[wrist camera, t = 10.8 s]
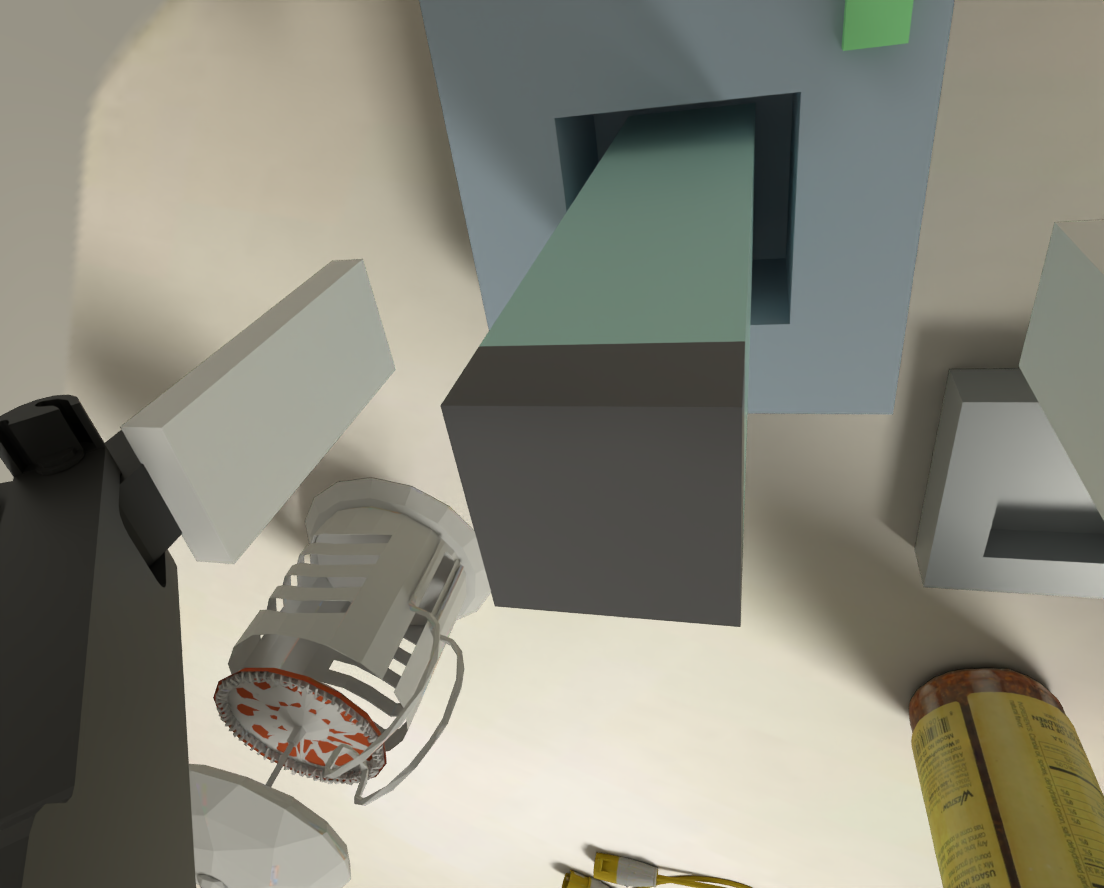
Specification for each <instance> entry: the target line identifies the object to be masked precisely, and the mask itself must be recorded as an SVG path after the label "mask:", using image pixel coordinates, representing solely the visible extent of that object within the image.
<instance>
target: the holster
mask: <svg viewBox="0 0 1104 888" xmlns="http://www.w3.org/2000/svg"><path fill="white" fill-rule="evenodd" d="M915 553H916V557H917V561H918V566H919V570H920V574H921V578H922V583H923V587H930V588H945V589H960V590H976V591H991V592H1006V593H1021V594H1037V595H1052V596H1067V597H1083V598H1098V599H1104V521H1103V519H1102V517H1101V515H1100V513H1099V511H1098V510H1097V508H1096V506H1095V504H1094V502H1093V501H1092V499H1091V497H1090V495H1089V493H1088V491H1087V490H1086V488H1085V486H1084V484H1083V482H1082V480H1081V479H1080V477H1079V475H1078V473H1077V471H1076V470H1075V468H1074V466H1073V464H1072V462H1071V460H1070V459H1069V457H1068V455H1067V453H1066V451H1065V449H1064V448H1063V446H1062V444H1061V442H1060V440H1059V439H1058V437H1057V435H1056V433H1055V431H1054V429H1053V428H1052V426H1051V424H1050V422H1049V420H1048V419H1047V417H1046V415H1045V413H1044V411H1043V409H1042V408H1041V406H1040V404H1039V402H1038V400H1037V398H1036V397H1035V395H1034V393H1033V391H1032V389H1031V388H1030V386H1029V384H1028V382H1027V380H1026V378H1025V377H1024V375H1023V373H1022V371H1021V369H949V374H948V379H947V384H946V390H945V395H944V400H943V405H942V410H941V416H940V421H939V426H938V431H937V436H936V441H935V447H934V452H933V457H932V462H931V467H930V472H929V478H928V483H927V488H926V493H925V498H924V503H923V509H922V514H921V519H920V524H919V529H918V534H917V540H916V545H915Z"/></svg>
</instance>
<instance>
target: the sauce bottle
mask: <svg viewBox="0 0 1104 888" xmlns="http://www.w3.org/2000/svg"><path fill="white" fill-rule="evenodd" d="M909 718H910V725H911V729H912V733H913V734H912V740H911V743H912V750H913V754H914V759H915V763H916V768H917V772H918V777H919V781H920V786H921V790H922V794H923V799H924V803H925V808H926V812H927V816H928V821H929V825H930V830H931V835H932V839H933V844H934V849H935V854H936V858H937V862H938V867H939V871H940V875H941V880H942V884H943V888H1104V795H1103V793H1102V791H1101V789H1100V786H1099V784H1098V782H1097V779H1096V777H1095V775H1094V772H1093V770H1092V768H1091V765H1090V763H1089V760H1088V758H1087V756H1086V753H1085V751H1084V749H1083V747H1082V744H1081V742H1080V740H1079V737H1078V735H1077V733H1076V730H1075V728H1074V726H1073V724H1072V723H1071V721H1070V720H1069V718H1068V717H1067V716H1066V714H1065V712H1064V710H1063V707H1062V705H1061V704H1060V702H1059V700H1058V699H1057V698H1056V697H1055V696H1054V695H1053V694H1052V693H1051V692H1050V691H1049V690H1047V689H1046V688H1045V687H1044V686H1043V685H1042V684H1041V683H1039V682H1037V681H1035V680H1033V679H1032V678H1031V677H1029V676H1028V675H1023V674H1021V673H1018V672H1016V671H1013V670H1010V669H1008V668H1005V669H997V668H985V669H962V670H956V671H950V672H947V673H945V674H943V675H940V676H937V677H934V678H933V679H931V680H930V681H928V682H927V683H926V684H925V685H923V686H921V687H920V688H919V689H917V691H916V692H915V694H914V696H913V697H912V698H911V700H910V703H909Z"/></svg>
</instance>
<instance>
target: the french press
mask: <svg viewBox="0 0 1104 888" xmlns="http://www.w3.org/2000/svg"><path fill="white" fill-rule="evenodd" d="M305 524H306V529H307V535H308V540H309V545H308V546H306V548H305V549H304V550H303V551H302V552H301V553H300V555H299V559H298V562H297V564H295V565H292V567H291V568H290V570H289V571H288V573H287V574H286V576H285V578H284V582H283V585H282V586H277V588H276V589H275V591H274V592H273V594H272V595H271V597H270V598H269V601H268V606H267V610H260V611H259V613H258V614H257V615H256V617H255V618H254V620H253V621H252V622H251V624H250V625H249V627H248V628H247V629H246V631H245V632H244V634H243V635H242V636H241V638H240V639H239V641H238V642H237V643H236V645H235V646H234V648H233V651H232V654H231V657H230V659H229V662H228V665H229V668H230V671H231V674H232V675H230V676H228V677H226V678H224V679H222V680H220V681H219V682H218V685H217V688H216V691H215V694H214V697H213V698H214V701H215V703H216V706H217V710H218V712H219V716H220V717H221V720H222V721H223V722H225V723H226V724H225V726H229V728H230V729H229V731H233V732H234V733H233V735H234V737H236V736H237V737H238V738H239V741H243V742H245V744H244V745H245V746H247V745H249V746H250V747H251V749H250V750H251V751H252V750H253V749H254V750H256V751H257V752H258V753H257V755H259V754H261V755H262V756H264V760H265V759H266V758H267V759H269V760H271V763H273V762H276V763H277V766H276V767H275V769H274V771H273V773H272V774H271V776H270V778H269V780H268V781H267V783H266V785H264V784H262V783H260V782H257V781H255V780H253V779H250V778H248V777H245V776H241V775H238V774H234V773H231V772H228V771H224V770H221V769H217V768H214V767H210V766H207V765H198V764H189V778H190V795H191V811H192V828H193V845H194V862H195V879H196V884H198V885H200V887H201V888H343V887H344V886H345V885H346V884H347V883H348V882H349V881H350V880H351V871H350V861H349V855H348V850H347V845H346V844H345V843H344V842H343V840H342V839H341V838H340V837H339V836H338V834H337V833H336V832H335V831H334V830H333V828H332V827H331V826H330V825H329V824H328V822H327V821H325V820H324V819H323V818H321V817H320V816H318V815H317V814H316V813H314V812H313V811H312V810H310V809H309V808H307V807H306V806H305V805H303V804H302V803H300V802H299V801H298V800H296V799H295V798H294V797H292V796H290V795H287V794H285V793H283V792H280V791H278V790H276V789H273V788H271V786H272V784H273V783H274V781H275V779H276V777H277V775H278V774H279V772H280V770H281V768H282V767H283V766H284V770H289V769H290V770H292V775H294V774H295V773H296V772H297V773H299V775H300V776H302V777H303V776H304V775H306V776H307V778H312V777H313V779H314V781H316V780H320V782H325V783H327V782H328V784H332V783H333V782H334V783H335V784H338V783H340V782H341V783H346V784H349V785H352V784H353V783H359V782H360V783H359V785H358V788H357V791H356V794H355V797H354V804H359V805H364V806H366V805H367V804H369V803H371V802H373V801H374V800H376V799H378V798H380V797H382V796H383V795H385V794H387V793H389V792H390V791H392V790H393V789H394V788H395V787H396V786H397V785H399V784H400V783H401V782H402V781H403V780H404V779H405V778H406V777H407V776H408V775H409V774H410V773H411V772H412V771H413V770H414V769H415V768H416V767H417V765H418V764H419V763H420V761H421V760H422V759H423V758H424V756H425V755H426V754H427V752H428V751H429V750H430V748H431V747H432V746H433V744H434V743H435V742H436V740H437V739H438V738H439V736H440V735H441V733H442V732H443V730H444V729H445V727H446V725H447V724H448V721H449V719H450V716H451V714H452V711H453V708H454V706H455V703H456V701H457V698H458V696H459V693H460V690H461V688H462V681H463V674H464V663H463V655H462V650H461V649H460V648H459V646H458V645H457V644H456V642H455V641H454V640H453V639H451V638H449V635H450V633H451V631H452V628H453V626H454V624H455V621H456V620H458V619H461V618H463V617H465V616H467V615H470V614H472V613H474V612H477V611H478V609H479V608H480V606H481V605H482V604H483V602H484V601H485V600H486V598H487V597H488V596H489V594H490V593H491V590H490V586H489V582H488V579H487V575H486V571H485V568H484V564H483V560H482V557H481V553H480V549H479V546H478V542H477V538H476V535H475V531H474V530H473V529H472V528H471V527H470V526H469V525H468V524H467V523H466V522H465V521H464V520H463V519H462V518H461V517H460V516H459V515H458V514H457V513H456V512H455V511H454V510H453V509H452V508H451V507H449V506H447V505H446V504H444V503H442V502H440V501H438V500H436V499H434V498H433V497H431V496H429V495H427V494H425V493H423V492H421V491H420V490H418V489H416V488H414V487H412V486H408V485H403V484H399V483H394V482H389V481H385V480H380V479H376V478H366V479H358V480H350V481H342V482H337V483H335V484H334V485H332V486H331V487H329V488H328V489H326V490H325V491H323V492H322V493H320V494H319V495H317V496H316V497H315V498H314V499H313V502H312V505H311V507H310V510H309V512H308V515H307V518H306V520H305ZM307 554H310V562H311V564H307V563H304V555H307ZM291 575H297V583H298V586H291ZM276 598H281V599H283V605H284V607H283V608H282V610H281V611H280V612H278V611H277V610H276ZM260 635H264V636H263V637H262V638H261V637H260ZM403 638H405V639H406V640H408V641H410V642H412V643H413V644H415V645H416V646H415V649H414V651H413V653H412V655H411V654H410V653H408V652H406V651H404V650H403V649H401V648H400V647H399V645H400V643H401V641H402V639H403ZM445 644H448V645H451V647H452V648H453V650H454V651H455V653H456V654H457V675H456V681H455V684H454V687H453V690H452V693H451V696H450V699H449V702H448V705H447V708H446V710H445V713H444V716H443V719H442V721H441V722H440V724H439V725H438V727H437V728H436V730H435V732H434V733H433V735H432V736H431V738H430V740H429V741H428V742H427V744H426V745H425V746H424V747H423V749H422V750H421V751H420V752H419V753H418V755H417V756H416V757H415V758H414V760H413V761H412V762H411V763H410V765H409V766H408V767H407V768H405V769H404V770H403V771H402V772H401V773H400V774H399V775H398V776H397V777H396V778H395V779H394V780H392V781H391V782H390V783H389V784H388V785H387V786H386V787H384V788H382V789H380V790H378V791H377V792H375V793H373V794H371V795H369V796H367V797H365V798H362V797H361V795H362V793H363V791H364V788H365V786H366V784H367V780H369V779H370V778H373V777H376V776H377V775H378V774H379V772H380V771H381V770H382V769H383V767H384V766H385V765H386V751H390V750H391V749H393V748H394V747H395V746H396V745H398V744H399V743H400V742H401V741H403V739H404V737H405V735H406V733H407V731H408V729H409V726H410V724H411V722H412V720H413V717H414V715H415V713H416V711H417V708H418V706H419V704H420V702H421V700H422V697H423V695H424V692H425V690H426V688H427V686H428V683H429V681H430V679H431V677H432V674H433V672H434V670H435V668H436V665H437V663H438V661H439V658H440V656H441V654H442V651H443V649H444V647H445ZM393 658H394V659H395V660H397V661H399V662H400V663H402V664H404V665H405V666H406V668H405V670H404V672H403V674H402V676H400V675H398V674H397V673H395V672H393V671H392V670H390V669H389V668H388V667H389V665H390V663H391V661H392V659H393ZM333 660H337V661H341V662H344V663H348V664H351V665H355V666H357V667H359V668H361V669H363V670H365V671H367V672H369V673H370V674H372V675H374V676H376V677H378V678H380V679H382V680H383V681H385V682H386V683H388V684H389V685H391V686H392V687H394V688H396V689H395V691H394V693H395V695H396V697H397V698H398V700H399V701H400V703H395V702H394V701H392V700H391V699H389V698H387V697H386V696H384V695H383V694H381V693H380V692H379V691H377V690H376V689H374V688H373V687H371V686H369V685H367V684H366V683H364V682H362V681H360V680H358V679H356V678H354V677H352V676H349V675H346V674H342V673H339V672H336V671H332V670H329V668H330V666H331V664H332V662H333ZM322 682H323V683H322ZM324 683H327V684H331V685H334V686H338V687H342V688H345V689H346V690H348V691H350V692H352V693H354V694H356V695H357V696H359V697H361V698H363V699H365V700H367V701H368V702H370V703H371V704H373V705H374V706H376V707H377V708H379V709H380V710H382V711H383V712H385V713H386V714H387V715H389V716H390V717H396V716H397V717H396V719H395V720H394V721H393V723H392V724H391V725H390V727H389V728H387V729H383V728H382V727H380V726H379V725H378V724H376V723H375V722H374V721H372V719H371V718H370V716H369V715H368V714H367V713H366V712H365V711H364V710H362V709H361V708H360V707H358V706H357V705H356V704H354V703H353V702H352V701H351V700H349V699H348V698H347V697H346V696H344V695H343V694H342V693H340V692H339V691H337V690H335V689H334V688H332V687H330V686H329V685H327V684H324ZM405 719H406V720H407V721H406V722H405V723H404V724H403V725H402V723H403V722H404V720H405ZM401 725H402V727H401V728H400V729H398V728H399V727H400V726H401ZM324 780H325V781H324Z"/></svg>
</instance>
